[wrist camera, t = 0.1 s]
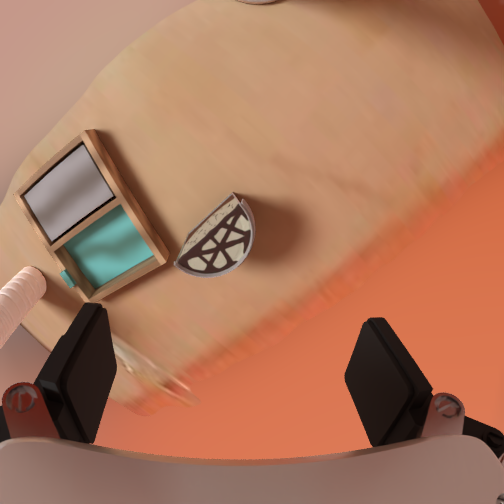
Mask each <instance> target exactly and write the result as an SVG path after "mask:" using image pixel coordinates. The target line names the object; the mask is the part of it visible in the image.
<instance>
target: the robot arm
mask: <svg viewBox="0 0 504 504" xmlns="http://www.w3.org/2000/svg"><path fill="white" fill-rule="evenodd" d="M237 1H240V2H244V3H250V4H264V3H270V2H274V1H277V0H237ZM116 371H117V364H116V359H115V354H114V349H113V344H112V338H111V332H110V327H109V321H108V314H107V310H106V309H105V308H103V307H102V305H101V304H98V303H90V302H86V303H85V304H84V305H83V307H82V308H81V310H80V311H79V313H78V314H77V316H76V318H75V319H74V321H73V322H72V324H71V325H70V327H69V329H68V330H67V332H66V334H65V335H62V336H61V338H60V339H59V341H58V342H57V344H56V346H55V347H54V349H53V351H52V352H51V354H50V356H49V357H48V359H47V361H46V362H45V364H44V366H43V368H42V369H41V371H40V373H39V375H38V377H37V378H36V380H35V382H34V384H32V383H29V382H20V383H15V384H13V385H11V386H10V387H9V388H8V389H6V391H5V392H4V394H3V397H2V406H0V504H504V435H503V434H502V433H501V432H500V431H499V430H497V429H496V428H493V427H491V426H488V425H486V424H483V423H481V422H479V421H476V420H474V419H471V418H469V417H467V416H465V408H464V406H463V403H462V402H461V401H460V400H459V399H458V398H457V397H456V396H454V395H452V394H449V393H438V394H436V395H434V396H433V395H432V393H431V392H432V390H433V388H432V387H431V385H430V384H429V382H428V380H427V379H426V377H425V376H424V374H423V373H422V371H421V370H420V368H419V367H418V365H417V364H416V362H415V361H414V359H413V358H412V357H411V355H410V354H409V352H408V351H407V349H406V348H405V346H404V345H403V344H402V342H401V341H400V339H399V338H398V337H397V335H396V334H395V332H394V331H393V329H392V328H391V326H390V325H389V324H388V322H387V321H386V320H385V318H382V317H381V318H380V317H379V318H369V319H368V320H367V321H366V322H364V323H363V325H362V328H361V331H360V334H359V337H358V340H357V342H356V345H355V348H354V351H353V354H352V356H351V359H350V361H349V364H348V367H347V369H346V372H345V382H346V385H347V387H348V390H349V392H350V394H351V396H352V399H353V401H354V404H355V406H356V409H357V411H358V414H359V416H360V419H361V421H362V423H363V426H364V428H365V431H366V434H367V436H368V439H369V441H370V444H371V445H372V446H373V447H372V448H367V449H361V450H355V451H349V452H342V453H335V454H327V455H318V456H309V457H298V458H282V459H259V460H221V459H199V458H183V457H172V456H162V455H154V454H146V453H139V452H132V451H126V450H119V449H113V448H108V447H102V446H97V445H92V444H93V443H94V441H95V438H96V434H97V430H98V428H99V424H100V421H101V418H102V414H103V411H104V408H105V405H106V402H107V399H108V396H109V393H110V390H111V387H112V384H113V381H114V378H115V375H116ZM89 443H92V444H89Z"/></svg>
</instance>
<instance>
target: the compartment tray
mask: <svg viewBox="0 0 504 504" xmlns="http://www.w3.org/2000/svg"><path fill="white" fill-rule="evenodd" d="M13 195H14V196H15V198H16V200H17V202H18V204H19V205H20V207H21V209H22V211H23V212H24V214H25V216H26V217H27V219H28V221H29V222H30V224H31V226H32V227H33V229H34V230H35V232H36V234H37V235H38V237H39V238H40V240H41V241H42V243H43V244H44V246H45V247H46V249H47V251H48V252H49V253H50V255H51V256H52V258H53V259H54V261H55V262H56V264H57V265H58V267H59V268H60V269H61V271H62V272H61V273H60V275H61V277H62V278H63V279H64V281H65V282H66V283H67V285H68V286H69V287H70V288H72V287H74V289H75V290H76V291H77V293H78V294H79V295H80V296H81V298H82V299H83V300H84V302H85V303H86V302H90V303H95V302H97V301H99V300H100V299H102V298H104V297H106V296H107V295H109V294H111V293H113V292H114V291H116V290H118V289H120V288H121V287H123V286H125V285H127V284H129V283H130V282H132V281H134V280H136V279H137V278H139V277H141V276H143V275H145V274H146V273H148V272H150V271H152V270H154V269H155V268H157V267H159V266H161V265H163V264H164V263H166V262H167V260H168V257H169V255H170V252H169V251H168V249H167V248H166V246H165V245H164V243H163V242H162V240H161V238H160V237H159V235H158V234H157V232H156V231H155V229H154V228H153V226H152V225H151V223H150V221H149V220H148V218H147V217H146V215H145V214H144V212H143V210H142V209H141V207H140V206H139V204H138V202H137V201H136V199H135V198H134V196H133V194H132V193H131V191H130V190H129V188H128V186H127V185H126V183H125V181H124V180H123V178H122V176H121V175H120V173H119V171H118V170H117V168H116V166H115V165H114V163H113V161H112V159H111V158H110V156H109V154H108V153H107V151H106V149H105V147H104V146H103V144H102V142H101V140H100V139H99V137H98V135H97V133H96V132H95V130H94V129H92V130H85V131H83V132H82V133H81V134H79V135H78V136H77V137H76V138H75V139H73V140H72V141H71V142H70V143H68V144H67V145H66V146H65V147H64V148H63V149H61V150H60V151H59V152H58V153H57V154H56V155H54V156H53V157H52V158H51V159H50V160H49V161H48V162H47V163H45V164H44V165H43V166H42V167H41V168H40V169H39V170H38V171H37V172H36V173H35V174H34V175H33V176H32V177H30V178H29V179H28V180H27V181H26V182H25V183H24V184H23V185H22V186H21V187H20V188H19V189H18V190H17V191H16V192H15V193H14V194H13ZM114 195H115V196H116V198H115V199H113V200H112V201H110V202H109V203H108V204H106V205H105V206H103V207H102V208H100V209H99V210H98V211H96V212H95V213H93V214H92V215H91V216H89V217H88V218H87V219H85V220H84V221H82V222H81V223H80V224H78V225H77V226H76V227H74V228H73V229H72V230H70V231H69V232H68V233H66V234H65V235H64V236H63V237H61V238H60V239H59V237H58V236H60V235H61V234H62V233H63V232H65V231H66V230H67V229H69V228H70V227H71V226H72V225H74V224H75V223H76V222H78V221H79V220H80V219H82V218H83V217H84V216H86V215H87V214H89V213H90V212H91V211H93V210H94V209H95V208H97V207H98V206H100V205H101V204H103V203H104V202H105V201H107V200H108V199H110V198H111V197H113V196H114ZM151 256H152V257H151ZM149 257H150V258H149ZM147 258H148V259H147ZM144 260H145V261H144ZM142 261H143V262H142ZM140 262H141V263H140ZM137 264H138V265H137ZM135 265H136V266H135ZM130 268H131V269H130ZM128 269H129V270H128ZM125 271H126V272H125ZM123 272H124V273H123ZM118 275H119V276H118ZM113 278H114V279H113ZM111 279H112V280H111ZM108 281H109V282H108ZM106 282H107V283H106ZM103 284H104V285H103ZM101 285H102V286H101ZM98 287H99V288H98ZM96 288H97V289H96Z"/></svg>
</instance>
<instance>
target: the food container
mask: <svg viewBox="0 0 504 504" xmlns="http://www.w3.org/2000/svg"><path fill="white" fill-rule="evenodd" d="M255 232H256V230H255V220H254V216H253V213H252V211H251V209H250V207H249V205H248V204H247V202H246V201H245V200H244V199H242V201H241V203H240V201H239V200H238V198H237V197H236V196H235V194H234V193H233V192H232V193H231V194H230V195H229V196H228V197H227V198H226V199H225V200H224V201H222V202H221V203H220V204H219V205H218V206H217V207H216V208H215V209H214V210H213V211H212V212H211V213H209V214H208V215H207V216H206V217H205V218H204V219H203V220H202V221H201V222H200V223H199V224H198V225H197V226H196V227H194V228H193V229H192V230H191V231H190V232H189V233H188V235H187V237H186V239H185V242H184V244H183V246H182V249H181V251H180V253H179V256H178V258H177V261H174V265H175V266H176V267H177V268H178V269H180V270H181V271H183V272H185V273H187V274H189V275H192V276H196V277H203V278H212V277H218V276H221V275H224V274H227V273H229V272H231V271H232V270H234V269H235V268H237V267H238V266H239V265H240V264H241V263H242V262H243V261H244V260H245V259H246V257H247V256H248V254H249V252H250V250H251V248H252V245H253V242H254V239H255Z"/></svg>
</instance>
